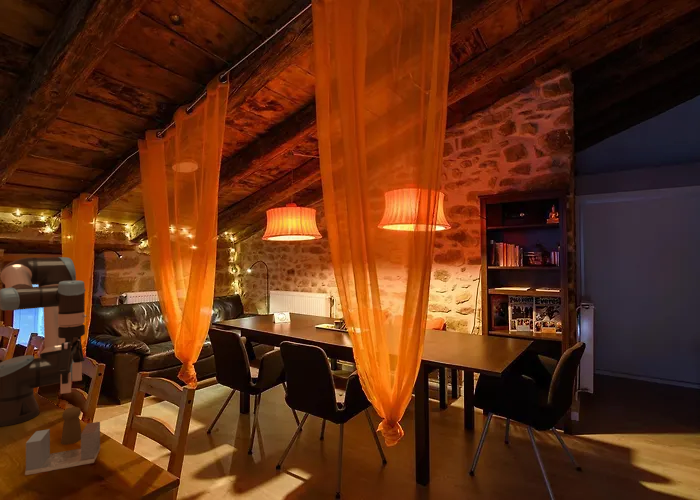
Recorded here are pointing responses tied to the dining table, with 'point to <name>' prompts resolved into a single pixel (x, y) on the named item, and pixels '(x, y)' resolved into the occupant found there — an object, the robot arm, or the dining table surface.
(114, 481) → the dining table surface
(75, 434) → the wooden pawn
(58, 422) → the dining table surface
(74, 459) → the vise
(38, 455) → the block
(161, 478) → the dining table surface
